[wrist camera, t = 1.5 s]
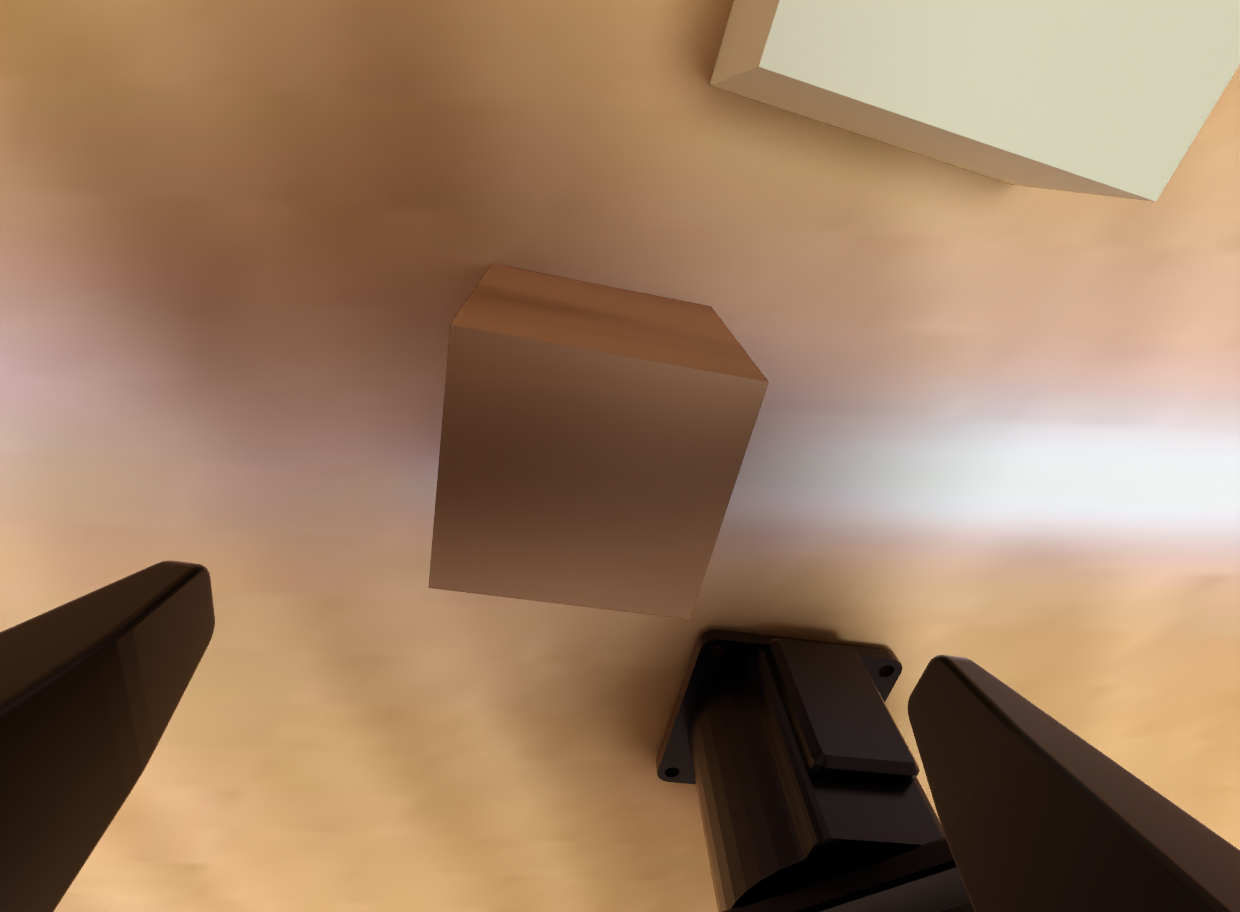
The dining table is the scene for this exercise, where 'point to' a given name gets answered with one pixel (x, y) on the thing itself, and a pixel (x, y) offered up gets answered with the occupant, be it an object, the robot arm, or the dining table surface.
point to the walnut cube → (587, 444)
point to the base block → (998, 80)
